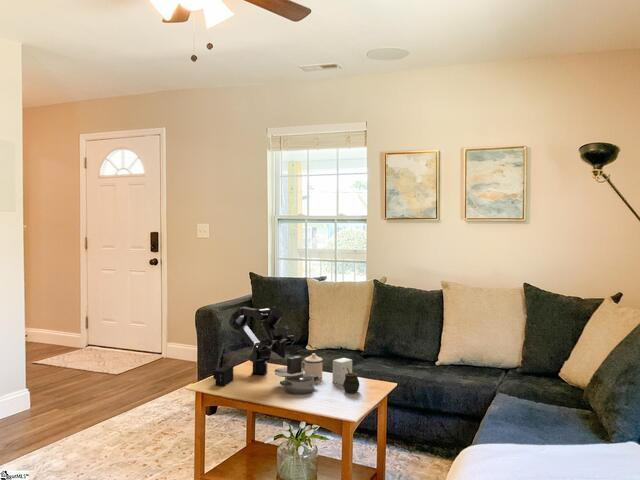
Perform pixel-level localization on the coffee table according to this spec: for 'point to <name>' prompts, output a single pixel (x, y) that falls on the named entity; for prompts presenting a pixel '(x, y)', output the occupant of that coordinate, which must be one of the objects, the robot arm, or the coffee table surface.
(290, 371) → the lid
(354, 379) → the mate gourd
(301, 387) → the pot
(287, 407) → the coffee table surface
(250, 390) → the coffee table surface
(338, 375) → the small box
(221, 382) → the digital camera
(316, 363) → the teacup with lid
